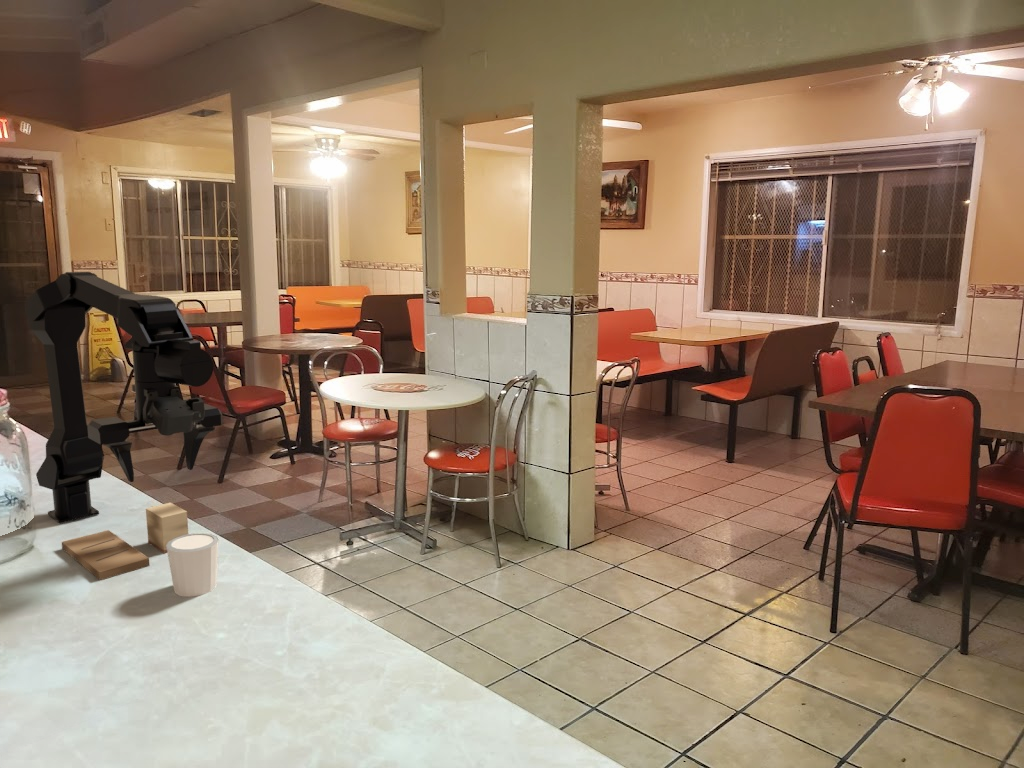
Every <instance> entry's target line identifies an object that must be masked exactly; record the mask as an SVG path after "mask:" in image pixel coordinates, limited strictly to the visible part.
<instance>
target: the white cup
mask: <svg viewBox="0 0 1024 768" xmlns="http://www.w3.org/2000/svg"><path fill="white" fill-rule="evenodd" d="M219 542H220V540H219V537H218V536H217V535H215V534H212V533H206V532H205V533H204V532H201V533H199V532H196V533H188V535H183V536H180V537H177V538H174V539H173V540H171V541H169V542H168V543H167V545H166V547H167V553H166V554H167V558H168V563H169V569H170V575H171V580H172V585H173V591H174V592H175V593H174V594H175V595H178V596H180V597H190V598H191V597H198V596H202V595H205V594H207V593H210V592H212V591H214V590H215V589H216V587H217V585H218V569H219V568H218V564H219V544H220V543H219Z"/></svg>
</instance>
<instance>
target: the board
mask: <svg viewBox="0 0 1024 768" xmlns="http://www.w3.org/2000/svg"><path fill="white" fill-rule="evenodd" d="M61 548H62V550H63V551H64V550H65V551H66V552H65V551H64V552H65V553H67V554H68V555H69V554H70V555H71V556H72V558H73V559H74V560H75V559H76V560H77V561H76V560H75V561H76V562H77V563H79V564H80V565H81V564H82V565H83V566H82V565H81V566H82V567H83V568H85V569H86V570H88V571H89V572H90V574H92V575H94V577H96V578H97V579H99V580H100V581H102V580H105V579H108V578H111V577H115V576H118V575H119V576H120V575H121V574H125V573H129V572H133V571H136V570H138V569H143V568H146V567H149V566H150V558H149V557H148V556H147V555H145V554H144V553H142V552H141V551H139V550H138V549H136V548H135V547H134V546H132V545H130V543H127V542H126V541H125V540H124V539H122V538H120V537H119V536H118V535H117V534H114V533H113V532H112V531H110V530H109V529H108V530H103V531H99V532H95V533H92V534H87V535H83V536H80V537H76V538H72V539H68V540H64V541H61ZM70 555H69V556H70ZM71 556H70V557H71Z"/></svg>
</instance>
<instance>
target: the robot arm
mask: <svg viewBox="0 0 1024 768" xmlns="http://www.w3.org/2000/svg"><path fill="white" fill-rule="evenodd" d="M176 305H177V304H176V303H175V302H174V300H172V299H171V298H169V297H165V296H160V295H159V296H158V295H150V294H138V293H135V292H132V291H130V290H129V289H125V288H123V287H121V286H119V285H116V284H115V283H113V282H110V281H108V280H105V279H103V278H101V277H99V276H98V275H97V274H96V273H95V272H94V273H93V272H91V271H66V272H64V273H61V274H60V275H58V277H57V278H56V279H55V280H54V281H51V282H49V283H48V284H45V285H44V286H42V287H39V288H38V289H36V290H35V291H34V292H33V293H32V294H31V295H30V297H28V299H27V300H26V302H25V304H24V312H25V316H26V318H27V319H28V323H29V328H30V330H31V332H32V333H33V334H34V336H35V337H36V338H37V339H38V340H39V341H40V342H41V343H42V345H43V349H44V355H45V363H46V370H47V371H46V372H47V378H48V379H47V381H48V387H49V388H48V389H49V395H50V404H51V410H52V411H51V412H52V419H53V430H52V431H51V433H50V435H49V437H48V440H47V441H46V443H45V458H44V460H43V462H42V464H41V465H40V466H39V468H38V470H37V472H36V474H35V475H36V479H37V483H38V485H39V487H43V488H46V489H49V490H51V491H52V499H53V500H52V501H53V510H49V511H47V515H48V516H49V517H50V518H52V519H53V520H55V521H56V522H58V523H59V524H63V523H67V522H71V521H74V520H75V521H76V520H79V519H83V518H84V519H85V518H87V517H92V516H97V515H100V511H99V510H97V509H96V508H95V507H93V506H92V499H91V489H90V481H91V480H94V479H99V478H101V477H102V474H103V473H102V472H103V465H104V458H105V453H104V450H103V446H105V447H107V448H108V449H109V450H110V451H111V452H112V453H113V455H114V457H115V458H116V460H117V462H118V464H119V465H120V467H121V469H122V471H123V473H124V474H125V477H126V478H127V480H128V481H129V482H130V483H134V482H135V474H134V472H135V471H134V467H133V460H132V453H131V450H132V446H133V445H132V444H133V443H132V442H131V441H129V440H127V439H129V437H130V434H133V433H139V432H147V431H152V430H158V433H160V435H162V436H164V437H165V436H167V437H169V436H172V435H174V434H180V433H183V441H184V442H183V444H184V453H185V454H184V457H185V463H186V467H187V470H189V471H192V470H193V469H194V466H195V464H196V463H195V462H196V460H197V458H198V454H199V452H200V451H199V450H200V448H201V445H202V443H203V441H204V439H205V438H206V437H207V435H209V434H210V433H211V432H214V431H215V430H216V427H219V426H222V425H223V423H224V422H223V421H224V420H223V418H224V417H223V413H222V411H221V409H219V408H218V407H216V406H213V405H210V404H207V403H205V401H204V399H203V398H201V397H192V398H188V399H183V398H182V396H181V390H180V386H179V385H183V386H189V387H195V388H196V387H197V388H198V387H201V386H204V385H206V383H208V381H210V379H211V377H212V376H213V372H214V367H215V366H214V361H213V359H212V357H211V356H210V354H209V353H208V351H206V350H204V349H202V345H201V344H202V343H201V341H200V340H195V339H194V338H193V335H192V333H191V331H192V330H191V329H190V328H189V326H188V325H187V324H186V322H185V320H184V318H183V316H182V314H181V312H180V310H179V309H178V307H177V306H176ZM93 308H95V309H96V310H99V311H101V312H103V313H104V314H106V315H109V316H112V317H113V318H115V319H116V323H117V326H118V327H119V329H121V330H122V331H124V332H125V333H126V334H127V335H129V336H130V338H129V339H128V340H127V341H126V342H125V343H124V346H123V347H124V349H126V350H127V349H128V350H132V360H133V364H132V365H133V374H134V375H133V376H134V384H131V388H132V392H134V393H135V403H136V404H135V405H136V406H135V407H136V409H135V410H133V413H134V414H133V416H134V417H135V418H136V419H134V420H127V421H125V420H123V419H122V418H119V417H117V416H111V417H110V416H109V417H103V418H96V419H91V420H90V422H89V423H87V412H86V408H85V407H86V405H85V404H86V403H85V398H84V388H83V381H82V380H83V379H82V372H81V363H80V358H79V357H80V356H79V349H78V348H79V347H78V344H79V341H80V339H81V337H82V335H83V333H84V331H85V329H86V327H87V325H86V322H87V321H86V318H87V317H86V316H87V314H88V313H89V312H90V311H91V310H92V309H93Z"/></svg>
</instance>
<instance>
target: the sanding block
mask: <svg viewBox="0 0 1024 768" xmlns="http://www.w3.org/2000/svg"><path fill="white" fill-rule="evenodd" d="M145 514H146V515H145V516H146V517H145V518H146V529H147V542H148V544H149V545H151V546H152V547H154V548H155V549H157V550H158V551H160V552H161V553H163V554H168V553H167V547H166V545H167V543H168V542H169V541H171V540H173V539H174V538H177V537H180V536H183V535H188V534H189V525H188V523H189V522H188V511H187V510H185V509H183V508H181V507H179V505H176V504H174V503H173V502H170V501H169V502H167V503H162V504H158V505H154V506H150V507H146V508H145Z"/></svg>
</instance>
